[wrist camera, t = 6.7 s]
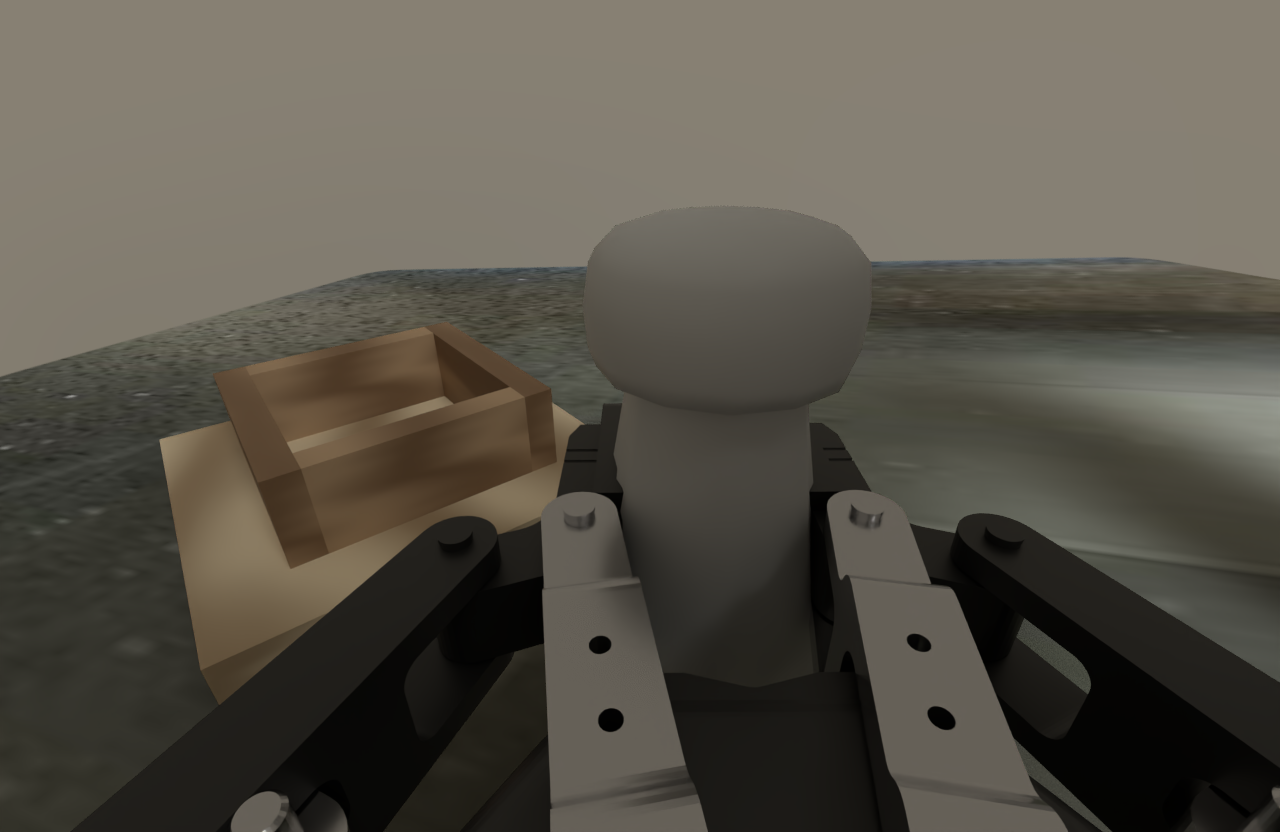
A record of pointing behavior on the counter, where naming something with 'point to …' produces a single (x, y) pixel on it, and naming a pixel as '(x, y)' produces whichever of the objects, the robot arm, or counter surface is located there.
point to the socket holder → (346, 479)
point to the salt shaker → (724, 419)
